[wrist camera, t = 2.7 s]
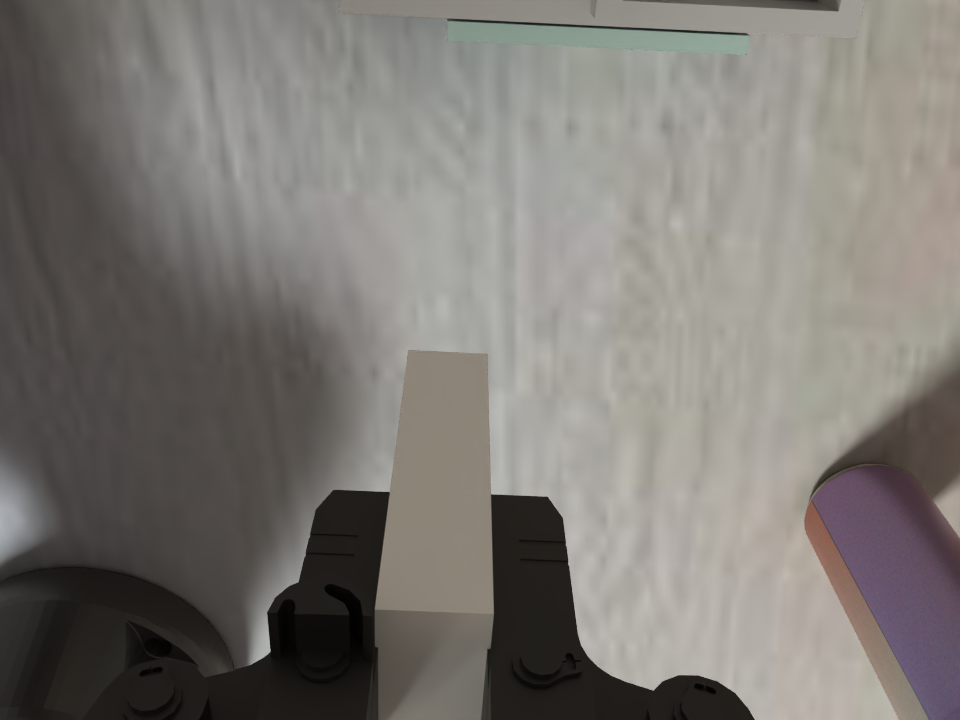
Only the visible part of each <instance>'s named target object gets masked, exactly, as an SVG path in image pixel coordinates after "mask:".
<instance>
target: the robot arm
mask: <svg viewBox="0 0 960 720" xmlns="http://www.w3.org/2000/svg"><path fill="white" fill-rule="evenodd" d="M267 615H268V626H269V637H270V649H271V652H270V653H269V654H268V655H267V656H265V657H264V658H262V659H261V660H259V661H257V662H255V663H253V664H252V665H249V666H246V667H243V668H240V669H237V670H234V667H233V663H232V659H231V657H230V654H229V652H228V649H227V647H226V646H225V644H224V642H223V640H222V639H221V637H220V636H219V634H218V633H217V632H216V630H215V629H214V628H213V627H212V626H211V625H210V623H209V622H208V621H207V620H206V619H205V618H204V617H202V616H201V615H200V614H199V613H198V612H197V611H196V610H194V609H193V608H192V607H190V606H189V605H188V604H186V603H185V602H183V601H182V600H180V599H179V598H177V597H175V596H173V595H172V594H170V593H168V592H166V591H164V590H162V589H160V588H158V587H156V586H154V585H151V584H149V583H146V582H144V581H141V580H138V579H135V578H132V577H129V576H125V575H121V574H117V573H112V572H108V571H101V570H94V569H84V568H55V569H45V570H38V571H33V572H29V573H25V574H21V575H18V576H15V577H12V578H9V579H7V580H4V581H2V582H0V720H754V718H753V716H752V714H751V713H750V711H749V709H748V708H747V707H746V706H745V704H744V703H743V702H742V701H741V700H740V698H739V697H738V696H737V695H736V694H735V693H734V692H732V691H731V690H729V689H728V688H726V687H725V686H723V685H722V684H720V683H719V682H717V681H714V680H710V679H707V678H704V677H701V676H686V675H678V676H676V677H673V678H671V679H668V680H665V681H663V682H662V683H661V684H660V685H659V686H658V687H657V688H656V689H655V690H654V691H652V690H649V689H646V688H643V687H640V686H637V685H633V684H630V683H627V682H624V681H622V680H620V679H617V678H615V677H613V676H610V675H609V674H607V673H606V672H604V671H603V670H601V669H600V668H598V667H597V666H596V665H595V664H594V663H593V662H592V661H591V660H590V659H589V658H588V656H587V655H586V653H585V651H584V650H583V648H582V646H581V644H580V640H579V637H578V633H577V625H576V617H575V609H574V602H573V594H572V586H571V578H570V571H569V566H568V555H567V547H566V540H565V532H564V524H563V518H562V516H561V515H560V514H559V512H558V511H557V509H556V508H555V507H554V505H553V504H552V502H551V501H550V500H549V498H548V497H538V496H514V495H491V478H490V437H489V396H488V355H487V354H479V353H458V352H437V351H415V350H408V357H407V365H406V372H405V380H404V388H403V396H402V403H401V411H400V419H399V426H398V434H397V442H396V450H395V457H394V465H393V473H392V480H391V488H390V492H372V491H348V490H333V491H332V492H331V493H330V494H329V496H328V497H327V498H326V499H325V500H324V501H323V502H322V504H321V505H320V506H319V507H318V508H317V509H316V511H315V516H314V520H313V524H312V528H311V533H310V538H309V541H308V545H307V550H306V557H305V558H304V562H303V566H302V571H301V575H300V579H299V582H298V583H296V584H293V585H291V586H289V587H288V588H286V589H285V590H284V591H283V592H282V593H280V594H279V595H278V596H277V597H276V598H275V599H274V601H273V603H272V605H271V607H270V608H269V610H268V612H267Z"/></svg>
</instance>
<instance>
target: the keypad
mask: <svg viewBox="0 0 960 720" xmlns="http://www.w3.org/2000/svg"><path fill="white" fill-rule="evenodd" d="M865 1H866V0H338V2H339V13H348V14H369V15H389V16H409V17H430V18H447V40H450V41H471V42H492V43H512V44H533V45H554V46H575V47H595V48H616V49H637V50H657V51H678V52H699V53H720V54H740V55H747V50H748V45H749V39H750V36H749V35H748V34H746V33H755V34H775V35H796V36H816V37H836V38H857V34H858V30H859V25H860V21H861V17H862V13H863V9H864V5H865Z"/></svg>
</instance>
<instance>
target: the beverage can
mask: <svg viewBox="0 0 960 720" xmlns="http://www.w3.org/2000/svg"><path fill="white" fill-rule="evenodd" d="M805 530H806V534H807V536H808V538H809V540H810V542H811V544H812V546H813V548H814V550H815V552H816V554H817V556H818V558H819V560H820V562H821V564H822V566H823V568H824V570H825V572H826V574H827V576H828V578H829V580H830V582H831V584H832V586H833V588H834V590H835V592H836V594H837V596H838V598H839V600H840V602H841V604H842V606H843V608H844V610H845V612H846V614H847V616H848V618H849V620H850V622H851V624H852V626H853V628H854V630H855V632H856V634H857V636H858V638H859V640H860V642H861V644H862V646H863V648H864V650H865V652H866V654H867V656H868V658H869V660H870V662H871V664H872V666H873V668H874V670H875V672H876V674H877V676H878V678H879V680H880V682H881V684H882V686H883V688H884V690H885V692H886V694H887V696H888V698H889V700H890V702H891V704H892V706H893V709H894V711H895V713H896V715H897V717H898V719H899V720H960V538H959V537H958V535H957V534H956V532H955V531H954V530H953V528H952V527H951V525H950V524H949V523H948V521H947V520H946V518H945V517H944V516H943V514H942V513H941V511H940V510H939V509H938V507H937V506H936V504H935V503H934V502H933V500H932V499H931V498H930V496H929V495H928V493H927V492H926V491H925V489H924V488H923V486H922V485H921V484H920V482H919V481H918V480H917V479H916V478H915V477H914V476H913V475H911V474H910V473H908V472H906V471H904V470H902V469H899V468H896V467H893V466H889V465H884V464H872V463H871V464H861V465H856V466H852V467H849V468H846V469H844V470H841V471H839V472H837V473H835V474H834V475H832V476H831V477H829V478H828V479H827V480H825V481H824V482H823V483H822V484H821V485H820V486H819V487H818V488H817V490H816V491H815V492H814V494H813V495H812V497H811V499H810V501H809V504H808V507H807V510H806V514H805Z"/></svg>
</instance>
